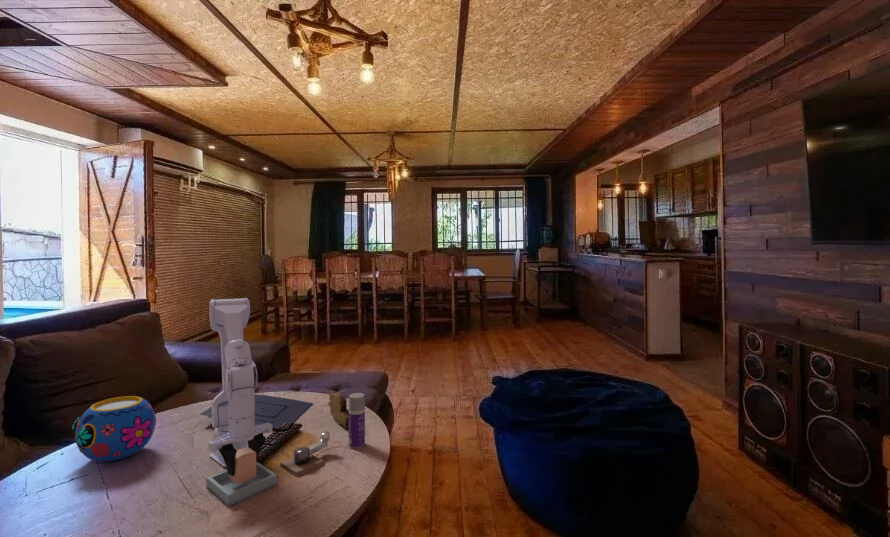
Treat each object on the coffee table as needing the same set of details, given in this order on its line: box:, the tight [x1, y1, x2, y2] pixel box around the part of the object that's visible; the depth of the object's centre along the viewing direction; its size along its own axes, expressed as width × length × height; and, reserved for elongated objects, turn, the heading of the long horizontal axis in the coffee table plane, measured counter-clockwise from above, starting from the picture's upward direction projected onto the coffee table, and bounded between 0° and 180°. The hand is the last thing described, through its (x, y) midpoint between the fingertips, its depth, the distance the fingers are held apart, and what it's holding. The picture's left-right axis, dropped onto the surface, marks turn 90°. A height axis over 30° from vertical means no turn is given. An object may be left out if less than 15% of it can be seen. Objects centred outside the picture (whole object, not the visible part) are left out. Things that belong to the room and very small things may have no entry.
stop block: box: [229, 446, 256, 484], centre depth 102 cm, size 4×4×6 cm
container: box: [348, 392, 366, 450], centre depth 124 cm, size 5×5×15 cm
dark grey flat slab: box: [199, 393, 314, 430], centre depth 146 cm, size 24×30×4 cm
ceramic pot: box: [71, 395, 157, 462], centre depth 116 cm, size 18×18×15 cm
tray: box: [206, 461, 278, 507], centre depth 102 cm, size 12×12×2 cm
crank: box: [293, 430, 330, 464], centre depth 116 cm, size 12×4×4 cm, turn 151°
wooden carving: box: [328, 392, 349, 429], centre depth 140 cm, size 16×5×10 cm, turn 40°
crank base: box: [279, 454, 324, 477], centre depth 112 cm, size 8×8×1 cm
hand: (242, 470), depth 102 cm, fingers closed on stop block, 4 cm apart
